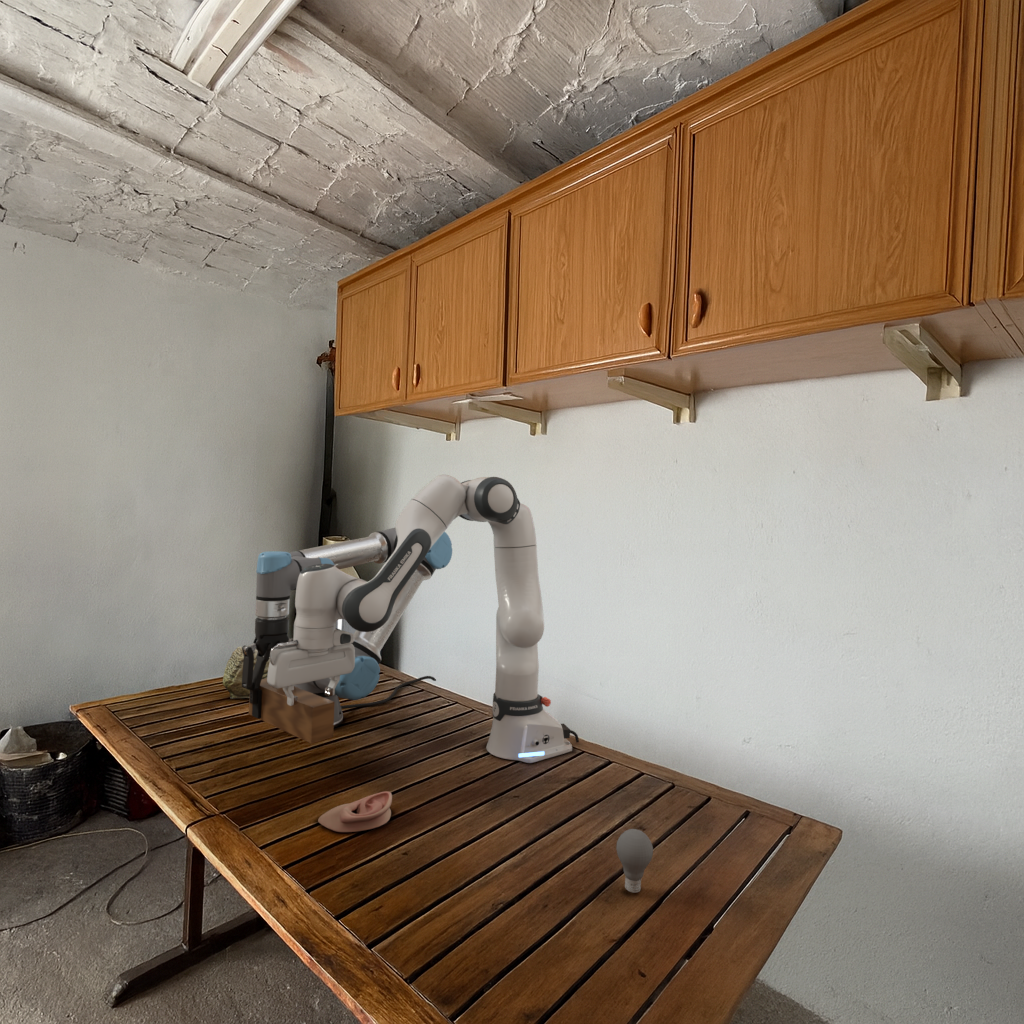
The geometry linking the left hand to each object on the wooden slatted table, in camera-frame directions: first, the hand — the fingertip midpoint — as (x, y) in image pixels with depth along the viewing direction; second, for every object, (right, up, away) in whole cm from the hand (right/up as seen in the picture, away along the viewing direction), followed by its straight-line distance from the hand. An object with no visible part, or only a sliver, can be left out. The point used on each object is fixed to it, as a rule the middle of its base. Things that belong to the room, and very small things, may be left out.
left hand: (268, 713), depth 151 cm
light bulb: (+78, -15, -45) cm, 92 cm away
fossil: (-23, -9, +47) cm, 53 cm away
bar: (+7, -1, -5) cm, 9 cm away
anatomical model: (+27, -13, -26) cm, 39 cm away
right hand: (+14, +6, -11) cm, 19 cm away
